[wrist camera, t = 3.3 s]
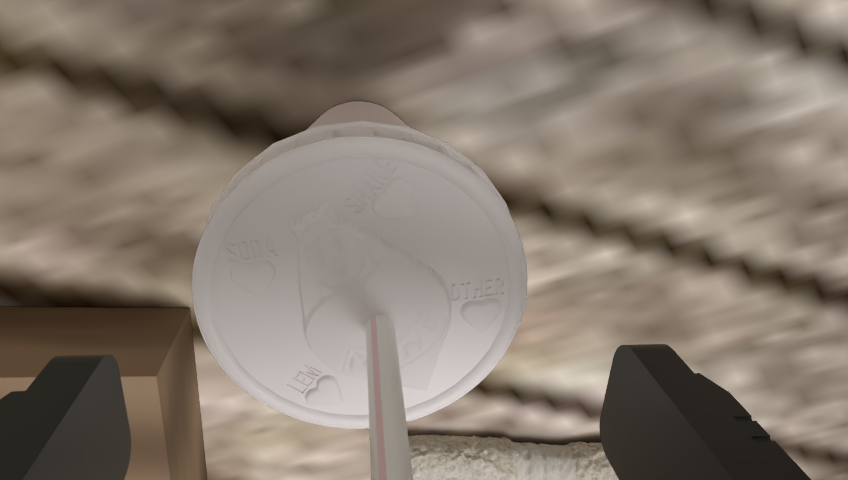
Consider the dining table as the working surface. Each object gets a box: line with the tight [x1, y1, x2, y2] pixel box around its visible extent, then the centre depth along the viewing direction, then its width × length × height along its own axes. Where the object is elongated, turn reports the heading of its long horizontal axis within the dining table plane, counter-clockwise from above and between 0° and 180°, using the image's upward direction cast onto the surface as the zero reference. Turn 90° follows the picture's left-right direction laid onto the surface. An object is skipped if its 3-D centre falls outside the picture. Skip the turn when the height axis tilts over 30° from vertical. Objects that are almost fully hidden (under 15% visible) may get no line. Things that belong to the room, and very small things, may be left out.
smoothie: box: [192, 101, 527, 480], centre depth 13 cm, size 6×6×14 cm
